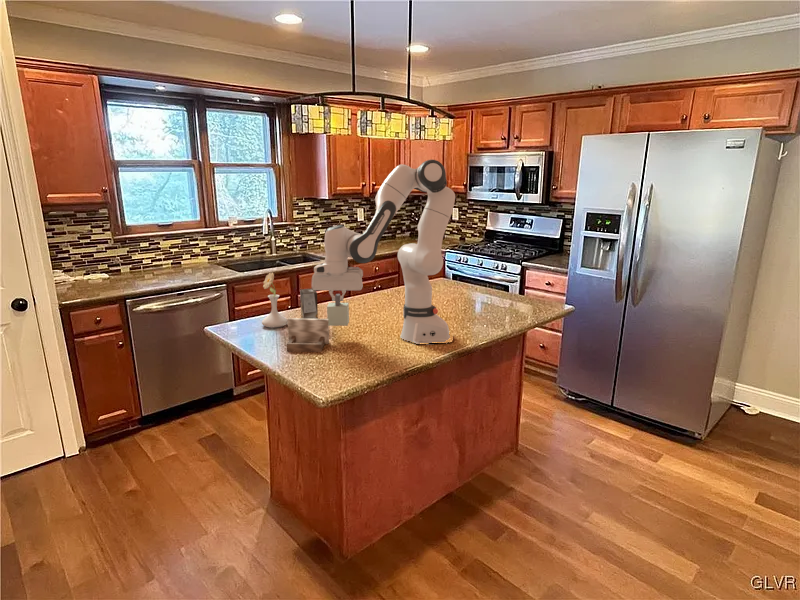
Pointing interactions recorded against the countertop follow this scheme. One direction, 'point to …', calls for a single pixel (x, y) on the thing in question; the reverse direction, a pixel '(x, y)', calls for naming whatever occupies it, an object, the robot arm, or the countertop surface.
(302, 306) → the coffee box
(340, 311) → the cube with grey handle
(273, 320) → the flower in vase
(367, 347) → the countertop surface
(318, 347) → the tan lidded box
